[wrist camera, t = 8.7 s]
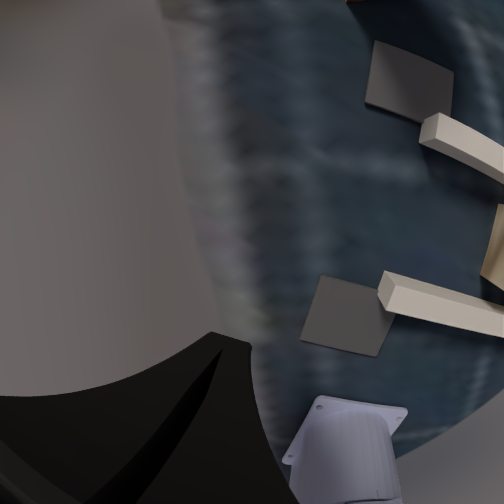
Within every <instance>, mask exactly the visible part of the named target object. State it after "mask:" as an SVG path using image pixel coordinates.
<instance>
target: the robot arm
mask: <svg viewBox="0 0 504 504" xmlns="http://www.w3.org/2000/svg"><path fill="white" fill-rule="evenodd" d="M251 350H252V346H251V344H250V343H248V342H245V341H241V340H238V339H234V338H231V337H228V336H225V335H221V334H218V333H215V332H210V333H207V334H206V335H205V336H203V337H202V338H200V339H199V340H197V341H196V342H194V343H193V344H191V345H190V346H188V347H187V348H185V349H183V350H182V351H180V352H178V353H177V354H175V355H173V356H172V357H170V358H168V359H166V360H164V361H162V362H160V363H159V364H156V365H154V366H152V367H150V368H148V369H146V370H144V371H142V372H140V373H137V374H135V375H132V376H130V377H127V378H125V379H122V380H119V381H116V382H114V383H110V384H107V385H103V386H100V387H95V388H91V389H86V390H82V391H78V392H72V393H65V394H58V395H48V396H32V397H19V396H16V397H15V396H0V504H404V503H403V500H402V494H401V488H400V482H399V476H398V471H397V466H396V461H395V456H394V451H393V446H392V441H391V437H390V436H391V435H392V434H393V433H394V431H395V430H396V429H397V427H398V426H399V425H400V423H401V422H402V421H403V419H404V418H405V417H406V415H407V413H408V411H407V409H406V408H403V407H394V406H386V405H378V404H371V403H364V402H357V401H351V400H345V399H340V398H334V397H329V396H323V395H321V396H318V397H317V398H316V399H315V401H314V403H313V405H312V407H311V408H310V410H309V412H308V414H307V416H306V418H305V420H304V422H303V423H302V425H301V427H300V429H299V431H298V432H297V434H296V436H295V438H294V439H293V441H292V443H291V445H290V446H289V448H288V450H287V451H286V453H285V455H284V456H283V458H282V462H283V463H284V464H288V465H292V468H291V476H290V484H289V485H288V483H287V481H286V479H285V477H284V476H283V474H282V472H281V470H280V468H279V466H278V464H277V462H276V460H275V458H274V455H273V453H272V451H271V448H270V446H269V443H268V441H267V438H266V435H265V432H264V429H263V426H262V423H261V420H260V416H259V413H258V408H257V404H256V400H255V395H254V389H253V383H252V375H251ZM318 405H321V406H318Z"/></svg>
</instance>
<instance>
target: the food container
mask: <svg viewBox="0 0 504 504" xmlns="http://www.w3.org/2000/svg"><path fill="white" fill-rule="evenodd" d="M360 1H364V0H345V2H346V3H349V2H360Z"/></svg>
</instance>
